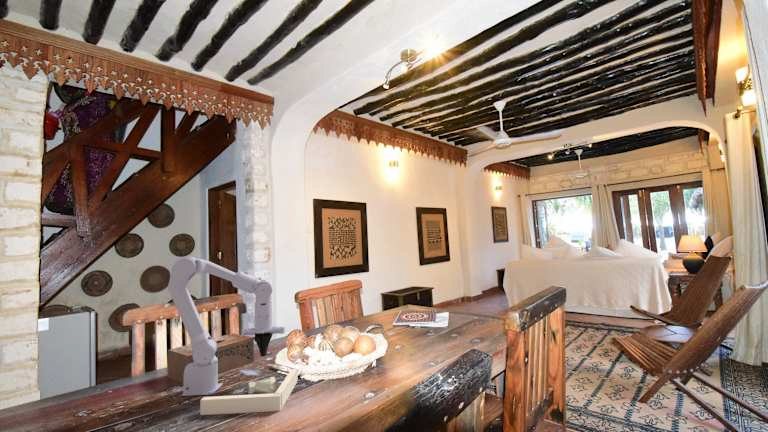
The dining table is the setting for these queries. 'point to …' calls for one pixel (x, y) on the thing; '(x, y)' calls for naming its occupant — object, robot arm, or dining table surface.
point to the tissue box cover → (229, 354)
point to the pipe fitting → (262, 386)
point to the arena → (250, 400)
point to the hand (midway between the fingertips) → (263, 355)
